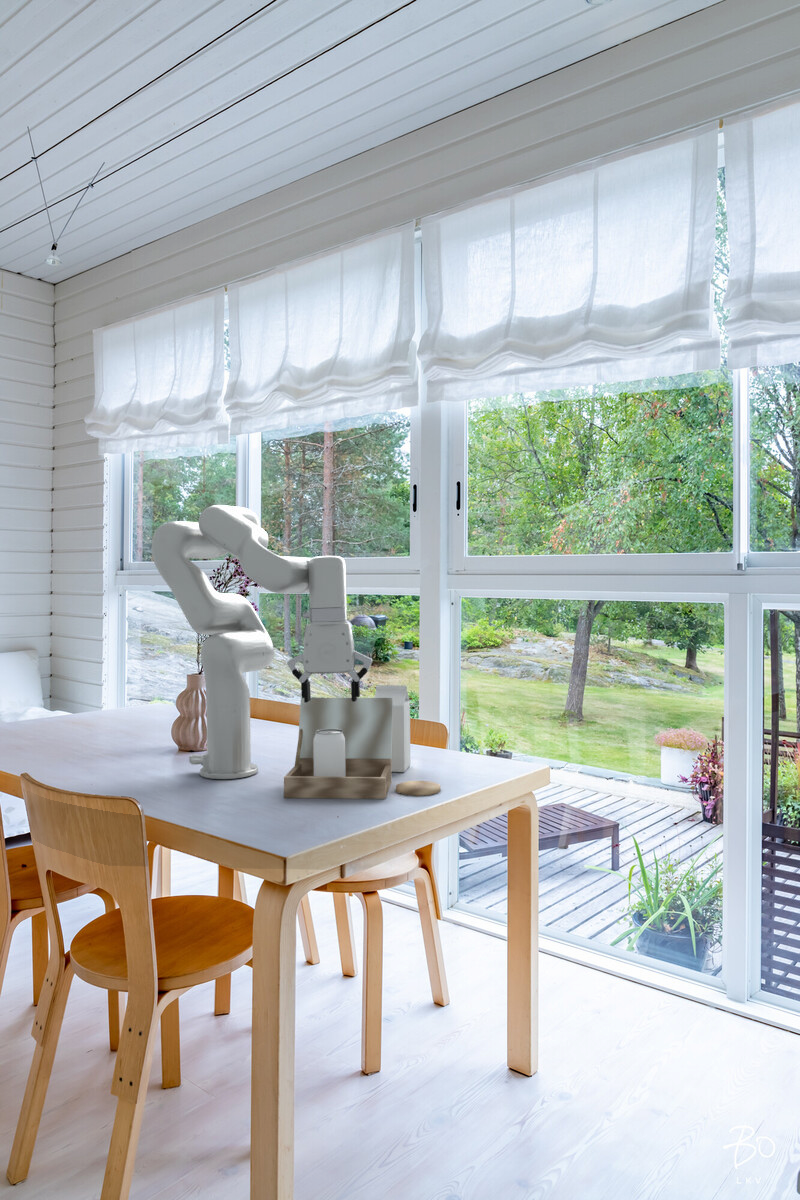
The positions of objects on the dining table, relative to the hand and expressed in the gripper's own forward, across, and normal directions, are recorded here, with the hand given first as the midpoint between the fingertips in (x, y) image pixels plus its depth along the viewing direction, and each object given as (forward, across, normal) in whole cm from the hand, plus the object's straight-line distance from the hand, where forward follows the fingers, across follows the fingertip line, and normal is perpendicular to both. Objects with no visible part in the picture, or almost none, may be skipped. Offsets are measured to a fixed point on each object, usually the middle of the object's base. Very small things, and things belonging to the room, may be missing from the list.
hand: (330, 701), depth 162 cm
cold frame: (+18, +1, +3) cm, 18 cm away
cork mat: (+18, +17, +1) cm, 25 cm away
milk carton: (+18, +10, +20) cm, 29 cm away
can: (+18, -1, 0) cm, 18 cm away
